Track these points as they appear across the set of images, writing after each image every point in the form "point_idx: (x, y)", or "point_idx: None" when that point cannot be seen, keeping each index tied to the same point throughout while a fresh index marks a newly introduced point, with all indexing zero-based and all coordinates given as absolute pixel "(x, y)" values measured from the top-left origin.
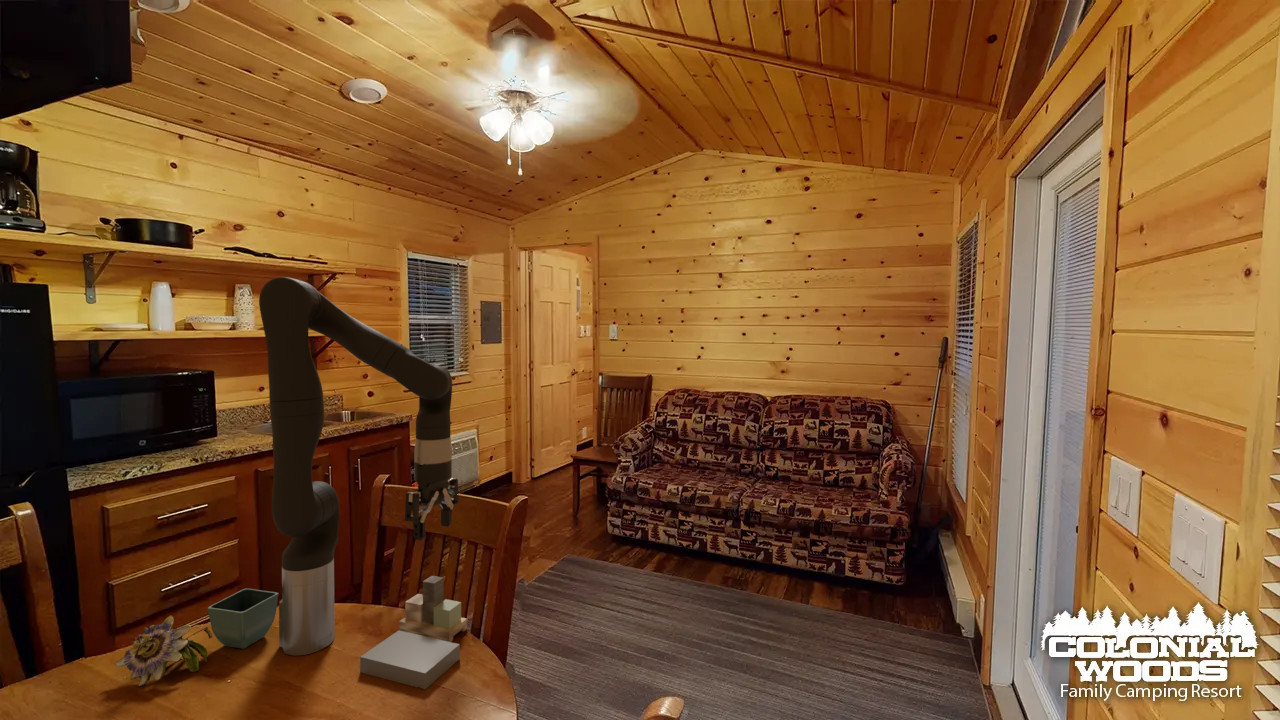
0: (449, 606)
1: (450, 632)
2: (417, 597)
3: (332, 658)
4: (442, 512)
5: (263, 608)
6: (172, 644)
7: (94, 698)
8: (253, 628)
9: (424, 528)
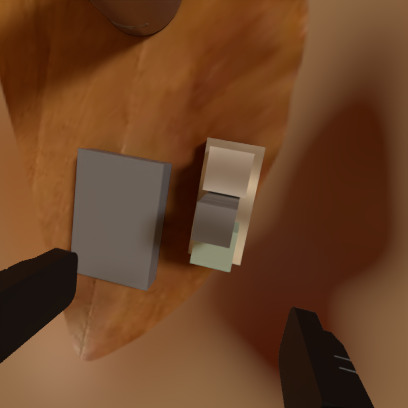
0: (207, 255)
1: (191, 253)
2: (235, 163)
3: (113, 74)
4: (310, 390)
5: None
6: None
7: None
8: None
9: (22, 340)
